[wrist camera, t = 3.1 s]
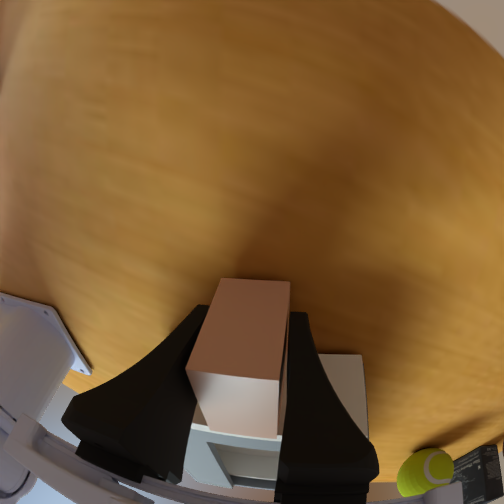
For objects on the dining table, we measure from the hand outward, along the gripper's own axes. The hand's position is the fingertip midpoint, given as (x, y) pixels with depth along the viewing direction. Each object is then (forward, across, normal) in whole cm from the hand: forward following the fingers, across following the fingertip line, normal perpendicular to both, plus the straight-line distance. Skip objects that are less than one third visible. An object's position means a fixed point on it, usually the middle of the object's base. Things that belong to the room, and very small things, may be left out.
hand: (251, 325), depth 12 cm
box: (+2, -30, +32) cm, 44 cm away
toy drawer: (+2, 0, +9) cm, 9 cm away
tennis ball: (+2, -18, +23) cm, 29 cm away
